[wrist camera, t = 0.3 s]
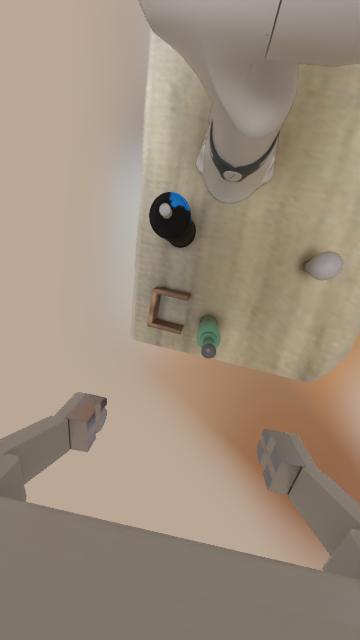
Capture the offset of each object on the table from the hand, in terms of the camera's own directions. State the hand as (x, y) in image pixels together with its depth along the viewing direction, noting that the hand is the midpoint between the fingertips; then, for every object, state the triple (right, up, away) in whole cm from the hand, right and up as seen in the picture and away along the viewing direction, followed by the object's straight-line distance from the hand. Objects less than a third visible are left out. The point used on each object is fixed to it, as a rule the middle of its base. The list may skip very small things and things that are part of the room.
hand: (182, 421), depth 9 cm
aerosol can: (0, +30, +41) cm, 51 cm away
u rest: (-2, +9, +47) cm, 48 cm away
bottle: (+9, +4, +47) cm, 48 cm away
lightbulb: (+34, +20, +39) cm, 55 cm away
